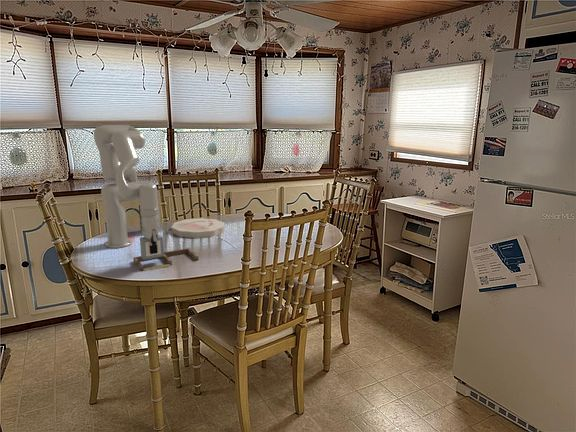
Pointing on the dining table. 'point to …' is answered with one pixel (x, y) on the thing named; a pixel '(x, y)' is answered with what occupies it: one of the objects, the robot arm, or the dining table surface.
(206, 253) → the dining table surface
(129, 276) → the dining table surface
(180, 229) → the decorative plaque
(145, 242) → the pale gray rectangular prism
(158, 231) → the coffee box
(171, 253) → the frame
